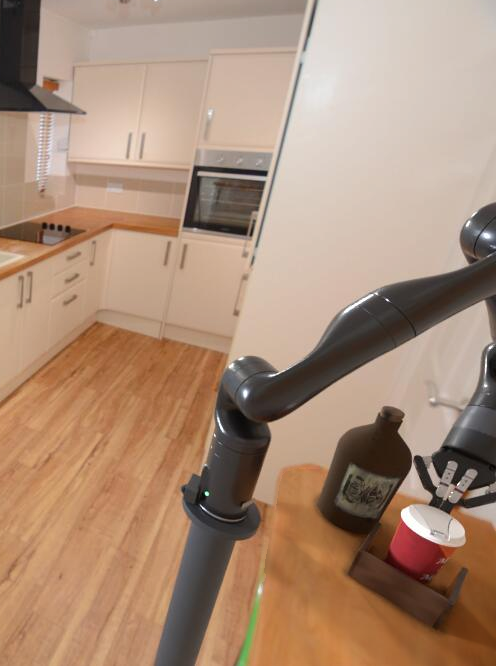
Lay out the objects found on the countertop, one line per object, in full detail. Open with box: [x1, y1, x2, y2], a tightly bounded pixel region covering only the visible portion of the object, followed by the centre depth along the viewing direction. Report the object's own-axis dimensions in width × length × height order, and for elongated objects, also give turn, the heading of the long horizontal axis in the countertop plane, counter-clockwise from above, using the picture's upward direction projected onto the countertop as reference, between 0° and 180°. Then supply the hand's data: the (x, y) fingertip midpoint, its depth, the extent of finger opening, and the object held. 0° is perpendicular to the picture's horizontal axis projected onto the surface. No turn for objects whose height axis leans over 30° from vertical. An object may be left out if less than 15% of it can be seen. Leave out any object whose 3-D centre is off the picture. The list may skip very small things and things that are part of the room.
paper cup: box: [383, 503, 467, 587], centre depth 75 cm, size 8×8×14 cm
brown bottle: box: [317, 405, 413, 534], centre depth 85 cm, size 11×11×25 cm
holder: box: [346, 521, 469, 631], centre depth 76 cm, size 12×10×6 cm
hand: (433, 518), depth 81 cm, fingers closed
